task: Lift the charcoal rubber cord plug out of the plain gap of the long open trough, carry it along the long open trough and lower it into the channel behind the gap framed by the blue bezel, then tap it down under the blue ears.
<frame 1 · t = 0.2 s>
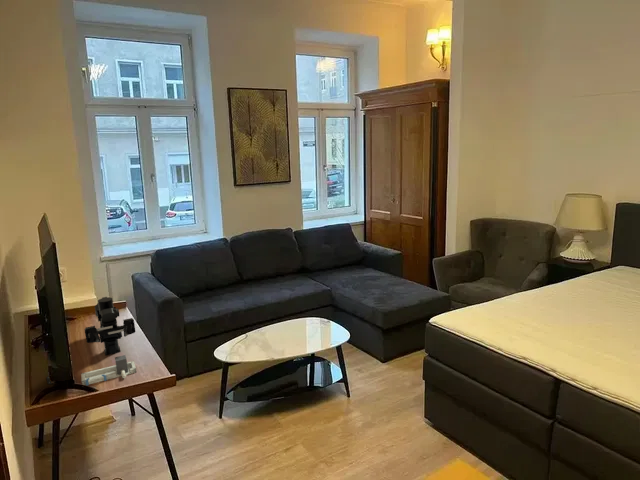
hand: (112, 338, 184), 17 cm above the table, tool horizontal, fingers open, 9 cm apart
smartphone: (68, 376, 191), on the table
cord plug: (122, 371, 191), on the table, touching long open trough
long open trough: (109, 375, 189), on the table
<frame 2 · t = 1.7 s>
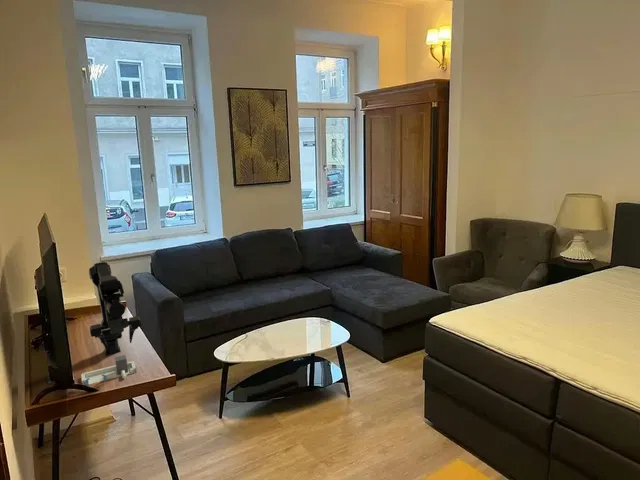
hand: (118, 345, 188), 12 cm above the table, tool pointing down, fingers open, 9 cm apart
nothing on the table moved.
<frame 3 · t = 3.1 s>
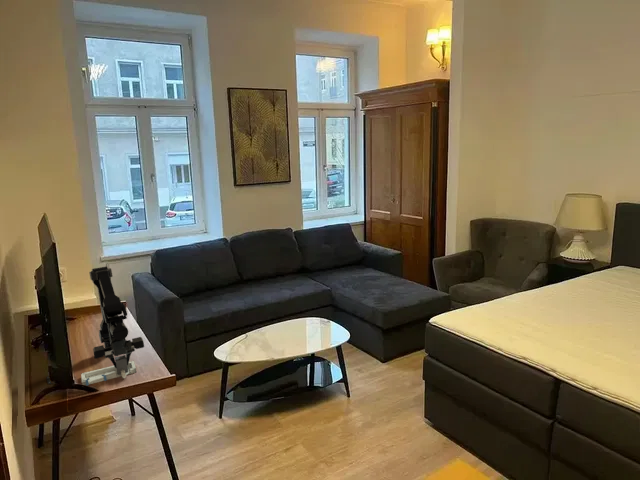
hand: (121, 366, 191), 3 cm above the table, tool pointing down, fingers closed on cord plug, 4 cm apart
cord plug: (122, 371, 191), on the table, touching long open trough, gripper
everything else where it was.
when the fingers open (4 cm above the table, at t = 6.5 s): cord plug drops 1 cm, resting on long open trough.
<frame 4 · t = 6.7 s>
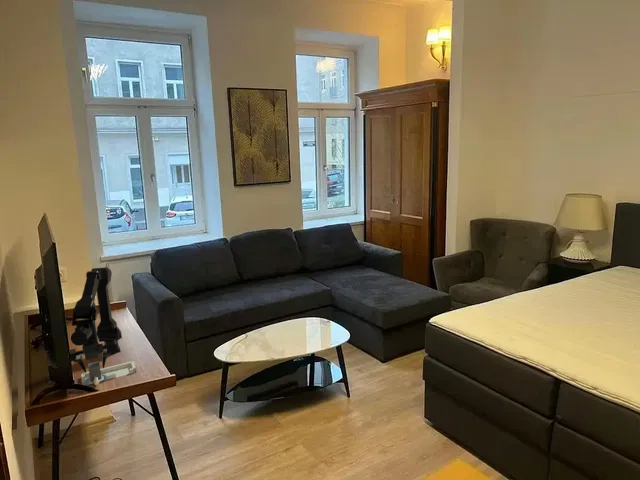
hand: (94, 370, 186), 4 cm above the table, tool pointing down, fingers open, 6 cm apart
cord plug: (95, 378, 186), resting on long open trough
everything else where it was.
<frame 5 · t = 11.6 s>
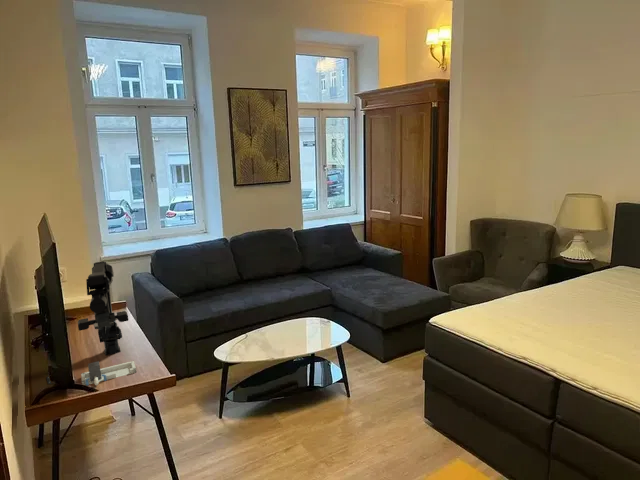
hand: (106, 339, 193), 13 cm above the table, tool pointing down, fingers closed
nothing on the table moved.
at the end: cord plug 0.0 cm from the target spot on the long open trough, point 0.4 cm above the long open trough's base; cord plug tilted 0°; the gripper is holding nothing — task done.
